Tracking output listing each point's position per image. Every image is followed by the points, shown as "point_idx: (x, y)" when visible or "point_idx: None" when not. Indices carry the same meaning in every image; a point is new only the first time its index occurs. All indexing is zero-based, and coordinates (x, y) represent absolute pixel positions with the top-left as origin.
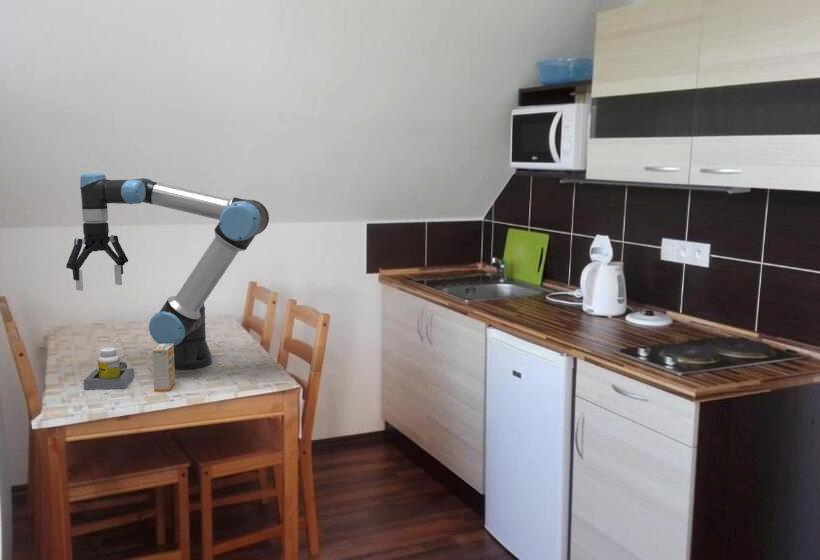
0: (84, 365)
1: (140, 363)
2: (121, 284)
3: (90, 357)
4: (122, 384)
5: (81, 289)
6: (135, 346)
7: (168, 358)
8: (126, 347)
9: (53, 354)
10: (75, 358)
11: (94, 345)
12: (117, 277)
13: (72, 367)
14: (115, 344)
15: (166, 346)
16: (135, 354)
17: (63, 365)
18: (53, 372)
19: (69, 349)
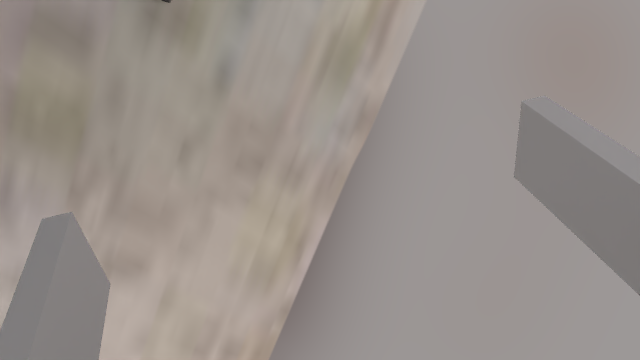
0: (256, 143)
1: (47, 36)
2: (47, 219)
3: (204, 229)
4: None
5: (546, 103)
6: (13, 290)
7: None
8: None
9: (286, 310)
10: (250, 241)
11: (148, 352)
12: (74, 311)
13: (298, 142)
14: None
15: None
16: (37, 186)
17: (311, 182)
18: (369, 118)
19: (229, 340)
